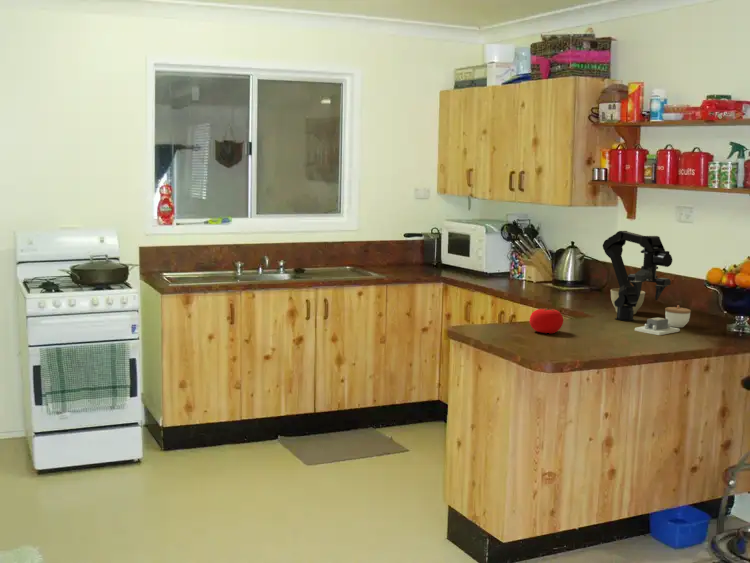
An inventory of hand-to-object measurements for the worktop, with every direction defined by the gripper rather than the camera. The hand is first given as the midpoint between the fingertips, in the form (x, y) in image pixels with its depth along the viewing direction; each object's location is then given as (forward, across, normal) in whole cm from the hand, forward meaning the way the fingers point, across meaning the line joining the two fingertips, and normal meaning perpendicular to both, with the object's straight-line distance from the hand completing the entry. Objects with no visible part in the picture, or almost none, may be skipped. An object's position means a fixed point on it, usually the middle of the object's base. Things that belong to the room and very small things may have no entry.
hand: (647, 298), depth 407 cm
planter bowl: (+12, -24, +21) cm, 34 cm away
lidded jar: (+12, +9, +11) cm, 19 cm away
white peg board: (+12, +11, -8) cm, 18 cm away
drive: (+11, +11, -8) cm, 17 cm away
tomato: (+12, -13, -54) cm, 57 cm away
